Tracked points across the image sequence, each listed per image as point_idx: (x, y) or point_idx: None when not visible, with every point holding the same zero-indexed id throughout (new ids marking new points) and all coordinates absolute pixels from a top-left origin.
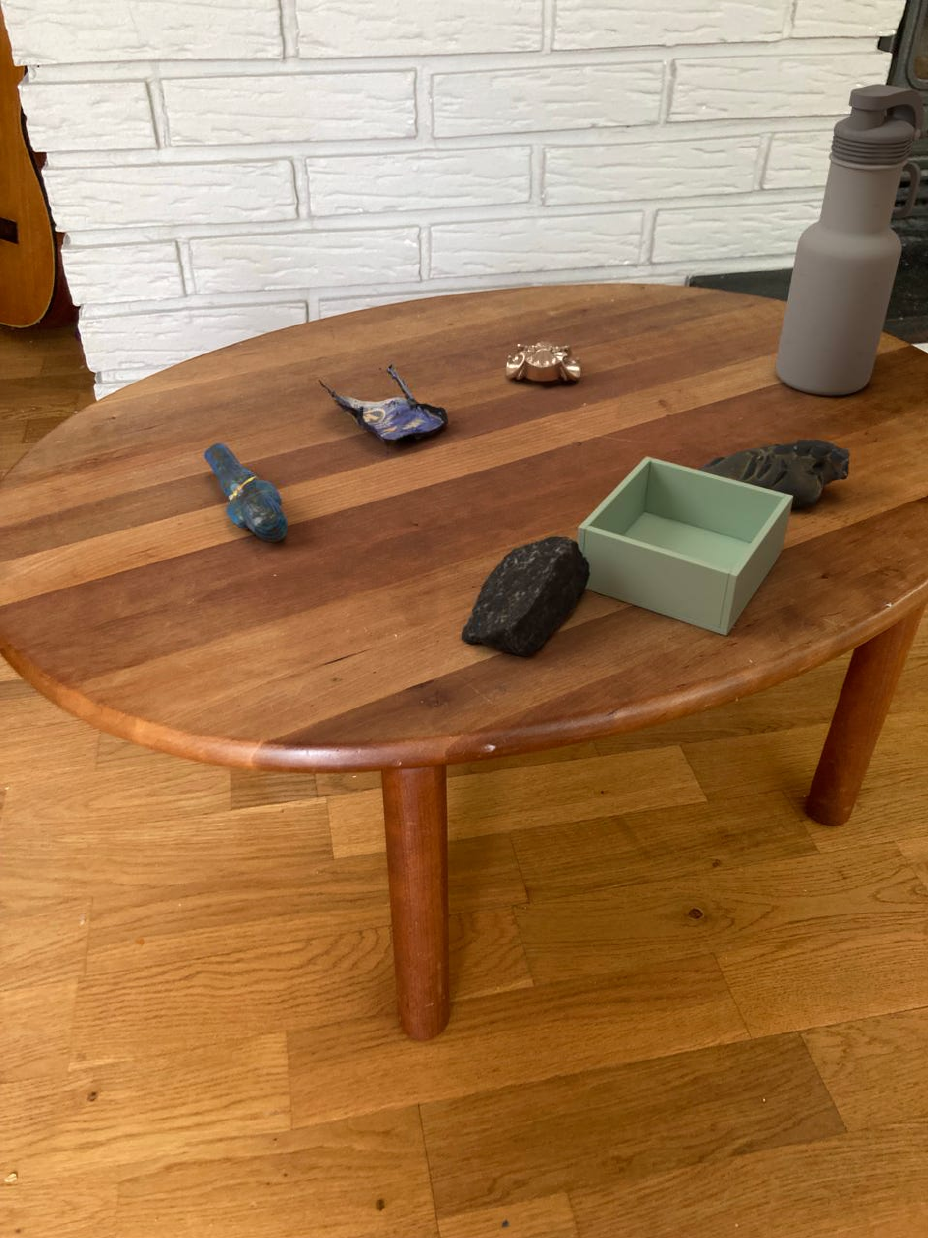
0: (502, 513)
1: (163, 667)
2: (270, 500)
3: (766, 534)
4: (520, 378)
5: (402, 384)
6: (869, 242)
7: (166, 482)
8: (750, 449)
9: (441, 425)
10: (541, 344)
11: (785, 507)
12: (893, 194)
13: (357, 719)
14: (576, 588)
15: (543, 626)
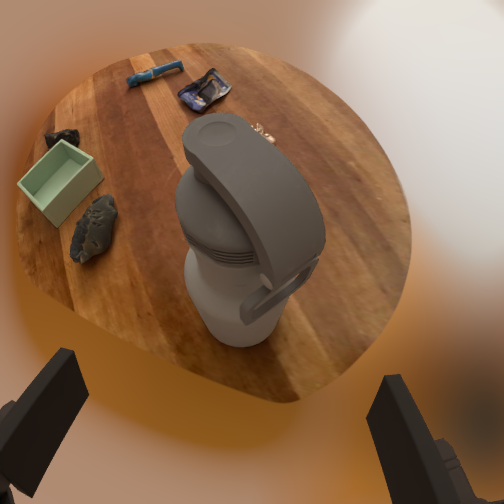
0: (122, 134)
1: (89, 84)
2: (134, 75)
3: (28, 196)
4: None
5: (203, 86)
6: (193, 265)
7: None
8: (104, 213)
9: (194, 109)
10: (269, 137)
11: (37, 206)
12: (203, 267)
13: (51, 119)
14: None
15: (48, 145)
